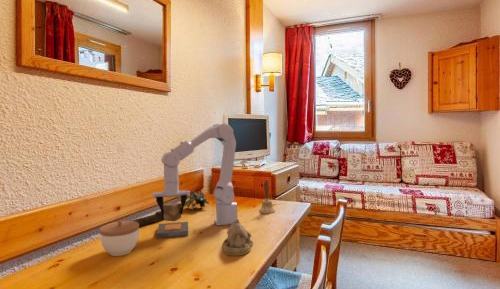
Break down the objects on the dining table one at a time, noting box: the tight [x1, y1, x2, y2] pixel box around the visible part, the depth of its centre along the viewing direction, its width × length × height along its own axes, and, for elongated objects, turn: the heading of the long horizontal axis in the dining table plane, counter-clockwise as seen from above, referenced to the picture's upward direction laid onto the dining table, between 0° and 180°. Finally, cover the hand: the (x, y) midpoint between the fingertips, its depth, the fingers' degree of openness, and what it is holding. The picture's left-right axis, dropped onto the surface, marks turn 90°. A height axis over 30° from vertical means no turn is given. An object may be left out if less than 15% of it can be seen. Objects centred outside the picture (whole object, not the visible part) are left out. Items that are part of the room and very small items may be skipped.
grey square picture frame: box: [155, 221, 189, 240], centre depth 124 cm, size 12×12×2 cm
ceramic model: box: [221, 218, 254, 256], centre depth 107 cm, size 14×11×10 cm
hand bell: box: [258, 179, 276, 215], centre depth 152 cm, size 8×8×16 cm
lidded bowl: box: [99, 219, 140, 257], centre depth 105 cm, size 13×13×11 cm
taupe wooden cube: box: [163, 202, 182, 222], centre depth 124 cm, size 5×5×6 cm
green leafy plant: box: [184, 191, 210, 212], centre depth 159 cm, size 11×11×12 cm
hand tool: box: [128, 210, 165, 227], centre depth 136 cm, size 19×4×5 cm, turn 137°
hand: (172, 214), depth 124 cm, fingers closed on taupe wooden cube, 7 cm apart
